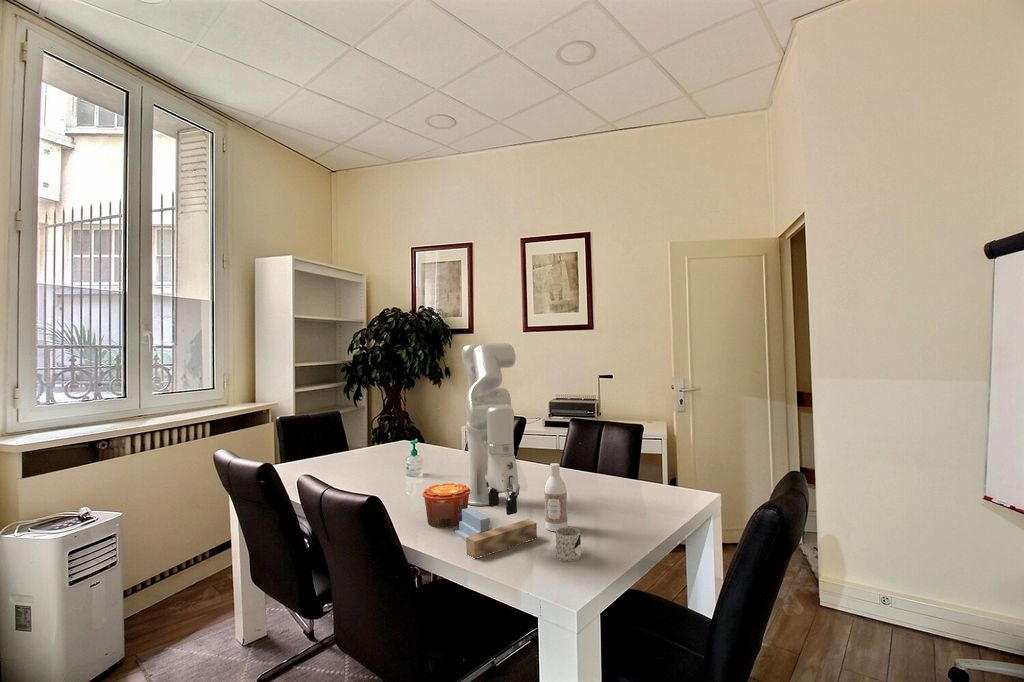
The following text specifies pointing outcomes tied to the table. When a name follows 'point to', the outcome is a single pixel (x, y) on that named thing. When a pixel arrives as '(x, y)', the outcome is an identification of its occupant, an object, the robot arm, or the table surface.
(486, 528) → the light blue stepped block
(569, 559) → the mug
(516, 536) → the light brown wooden bar
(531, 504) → the table surface
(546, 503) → the bath foam
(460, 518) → the food container
